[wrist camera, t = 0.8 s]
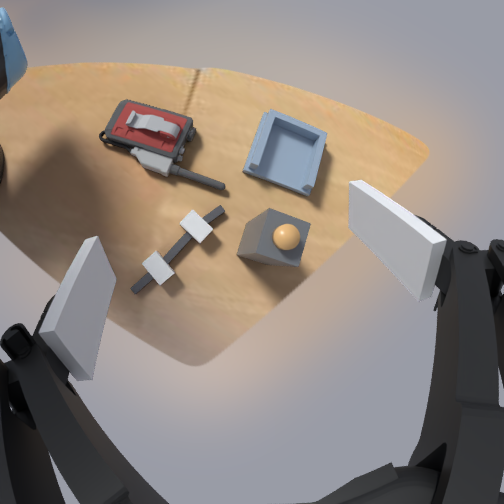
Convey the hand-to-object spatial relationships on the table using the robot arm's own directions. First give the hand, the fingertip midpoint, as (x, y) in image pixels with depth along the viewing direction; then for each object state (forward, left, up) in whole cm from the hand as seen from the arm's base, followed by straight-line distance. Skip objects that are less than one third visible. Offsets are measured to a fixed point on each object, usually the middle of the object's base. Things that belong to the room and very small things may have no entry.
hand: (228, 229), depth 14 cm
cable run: (-4, -1, -25) cm, 25 cm away
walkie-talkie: (-10, +12, -25) cm, 30 cm away
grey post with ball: (+6, +3, -25) cm, 26 cm away
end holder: (+6, +17, -25) cm, 31 cm away
